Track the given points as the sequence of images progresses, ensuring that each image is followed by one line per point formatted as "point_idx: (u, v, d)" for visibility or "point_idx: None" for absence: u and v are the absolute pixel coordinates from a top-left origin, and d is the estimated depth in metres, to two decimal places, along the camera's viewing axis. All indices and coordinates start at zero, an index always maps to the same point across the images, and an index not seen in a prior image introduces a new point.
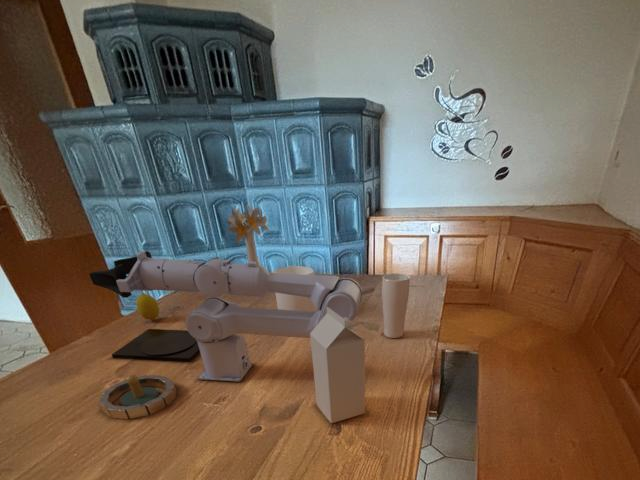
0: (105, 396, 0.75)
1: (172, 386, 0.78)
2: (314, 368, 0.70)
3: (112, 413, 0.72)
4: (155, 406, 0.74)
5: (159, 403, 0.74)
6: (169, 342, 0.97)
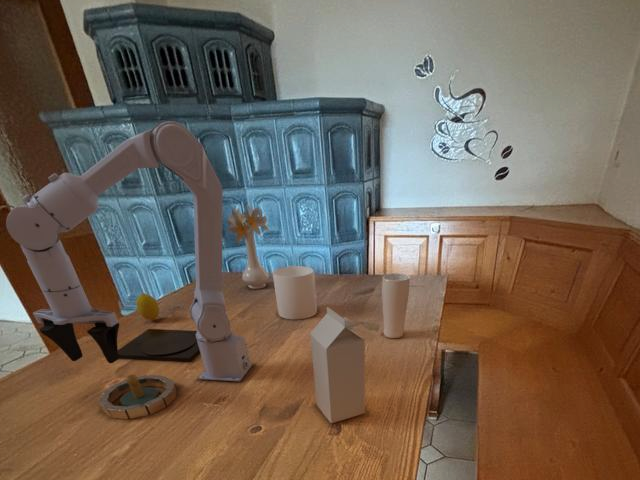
0: (105, 396, 0.75)
1: (172, 386, 0.78)
2: (314, 368, 0.70)
3: (112, 413, 0.72)
4: (155, 406, 0.74)
5: (159, 403, 0.74)
6: (169, 342, 0.97)
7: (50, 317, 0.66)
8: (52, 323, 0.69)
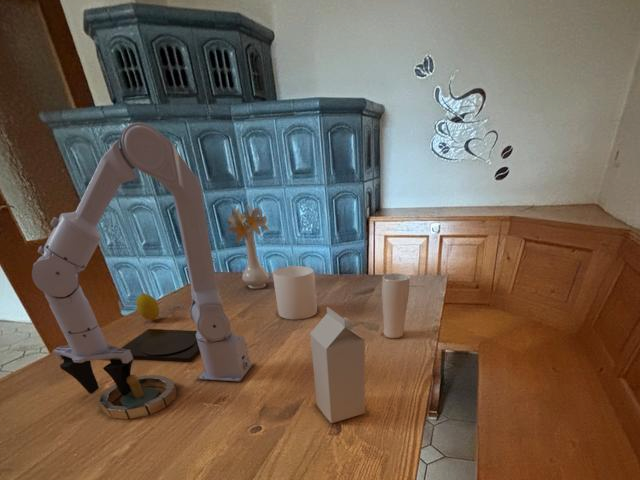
0: (105, 396, 0.75)
1: (172, 386, 0.78)
2: (314, 368, 0.70)
3: (112, 413, 0.72)
4: (155, 406, 0.74)
5: (159, 403, 0.74)
6: (169, 342, 0.97)
7: (69, 355, 0.71)
8: (71, 359, 0.73)
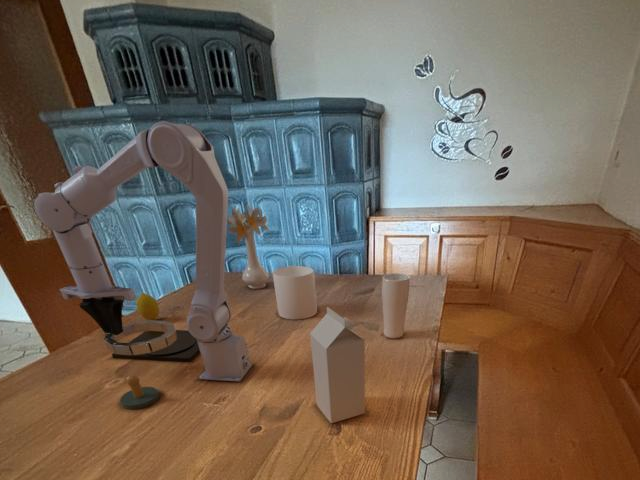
0: (109, 335, 0.79)
1: (173, 329, 0.82)
2: (314, 368, 0.70)
3: (116, 349, 0.76)
4: (157, 344, 0.78)
5: (161, 342, 0.78)
6: None
7: (76, 293, 0.75)
8: (90, 299, 0.77)
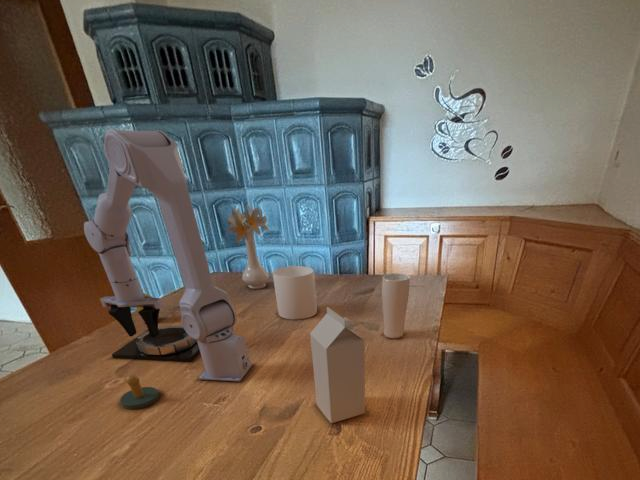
0: (140, 338, 0.94)
1: None
2: (314, 368, 0.70)
3: (147, 350, 0.91)
4: (180, 345, 0.93)
5: (184, 343, 0.93)
6: (169, 342, 0.97)
7: (114, 302, 0.89)
8: (117, 307, 0.92)
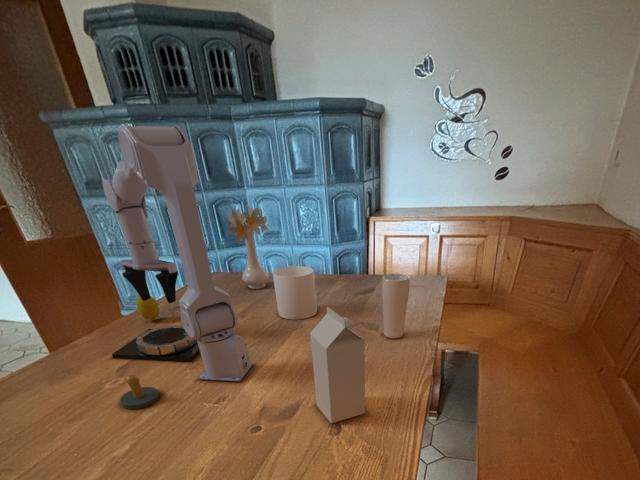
0: (140, 338, 0.94)
1: None
2: (314, 368, 0.70)
3: (147, 350, 0.91)
4: (180, 345, 0.93)
5: (184, 343, 0.93)
6: (169, 342, 0.97)
7: (130, 264, 0.90)
8: (131, 270, 0.92)
